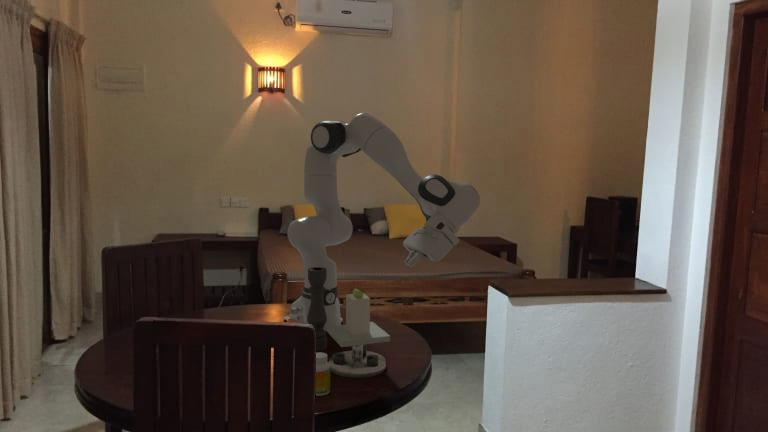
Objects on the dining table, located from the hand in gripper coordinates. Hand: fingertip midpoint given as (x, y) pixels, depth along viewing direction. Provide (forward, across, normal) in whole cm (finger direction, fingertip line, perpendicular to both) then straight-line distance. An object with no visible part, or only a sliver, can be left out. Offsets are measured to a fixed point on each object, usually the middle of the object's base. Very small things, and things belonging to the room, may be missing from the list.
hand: (407, 264), depth 162 cm
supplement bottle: (+41, +13, 0) cm, 43 cm away
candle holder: (+36, -19, +5) cm, 41 cm away
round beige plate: (+31, 0, +10) cm, 32 cm away
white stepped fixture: (+24, 0, +3) cm, 25 cm away
